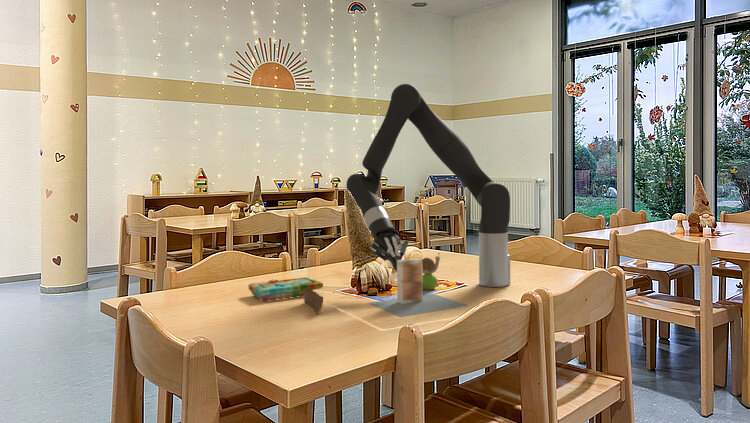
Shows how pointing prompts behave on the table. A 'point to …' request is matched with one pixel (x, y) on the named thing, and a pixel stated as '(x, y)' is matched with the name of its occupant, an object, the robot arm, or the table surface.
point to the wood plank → (313, 300)
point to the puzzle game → (283, 288)
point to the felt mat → (418, 305)
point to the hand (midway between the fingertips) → (400, 269)
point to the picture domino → (409, 280)
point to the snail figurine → (429, 273)
